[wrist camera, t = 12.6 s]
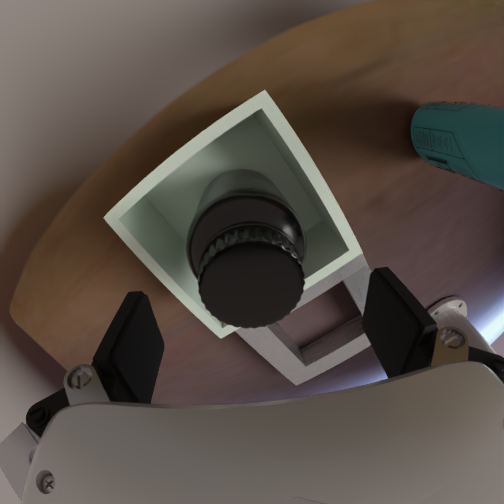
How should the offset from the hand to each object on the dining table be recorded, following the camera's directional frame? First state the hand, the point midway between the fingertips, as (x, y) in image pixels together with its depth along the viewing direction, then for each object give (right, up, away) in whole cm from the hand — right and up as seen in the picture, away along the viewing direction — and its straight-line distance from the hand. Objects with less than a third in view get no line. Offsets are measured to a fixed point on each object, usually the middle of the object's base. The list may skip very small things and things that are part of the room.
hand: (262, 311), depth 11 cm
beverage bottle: (+17, +15, +10) cm, 25 cm away
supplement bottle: (-1, +6, +12) cm, 13 cm away
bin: (-2, +7, +12) cm, 14 cm away
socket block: (+7, -4, +18) cm, 20 cm away
